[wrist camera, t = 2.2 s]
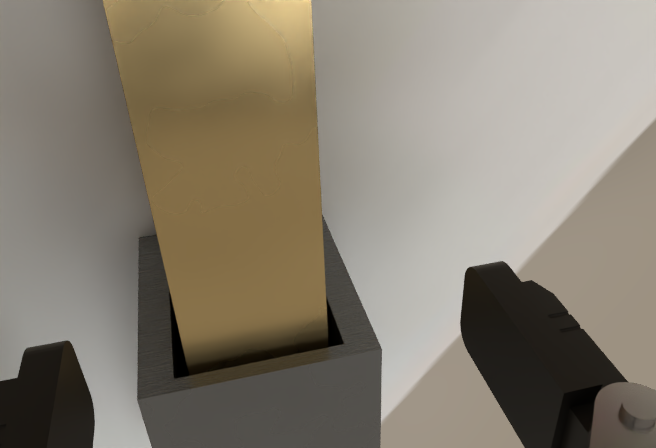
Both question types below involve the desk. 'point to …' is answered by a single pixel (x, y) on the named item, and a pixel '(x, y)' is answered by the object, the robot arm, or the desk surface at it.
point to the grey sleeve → (260, 376)
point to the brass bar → (229, 169)
